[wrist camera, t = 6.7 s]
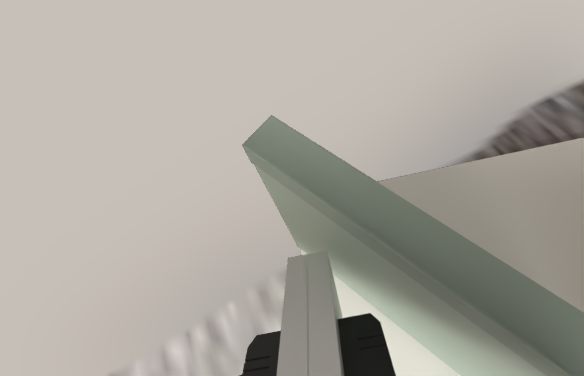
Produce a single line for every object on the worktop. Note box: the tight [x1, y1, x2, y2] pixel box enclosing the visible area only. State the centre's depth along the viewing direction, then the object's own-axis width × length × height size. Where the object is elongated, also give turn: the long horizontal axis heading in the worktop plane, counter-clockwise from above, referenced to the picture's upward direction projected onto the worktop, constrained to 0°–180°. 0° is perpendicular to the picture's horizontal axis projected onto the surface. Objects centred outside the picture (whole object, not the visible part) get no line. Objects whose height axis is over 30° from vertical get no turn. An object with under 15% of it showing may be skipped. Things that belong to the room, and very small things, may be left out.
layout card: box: [300, 138, 584, 376], centre depth 17 cm, size 22×14×1 cm, turn 99°
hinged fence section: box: [242, 115, 584, 376], centre depth 14 cm, size 12×1×9 cm, turn 49°
